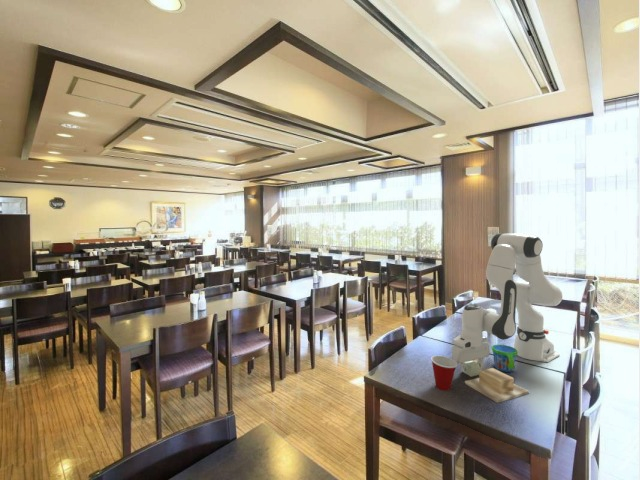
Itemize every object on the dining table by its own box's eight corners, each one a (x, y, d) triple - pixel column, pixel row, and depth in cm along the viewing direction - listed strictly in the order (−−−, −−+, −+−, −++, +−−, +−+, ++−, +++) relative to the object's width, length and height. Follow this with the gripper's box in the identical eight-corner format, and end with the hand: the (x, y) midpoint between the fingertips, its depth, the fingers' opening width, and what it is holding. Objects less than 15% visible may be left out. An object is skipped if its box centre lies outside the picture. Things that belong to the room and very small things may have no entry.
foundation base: (494, 375, 145) (494, 363, 144) (528, 393, 130) (529, 379, 130) (464, 383, 138) (465, 370, 138) (497, 402, 123) (497, 388, 123)
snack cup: (487, 360, 160) (487, 341, 160) (510, 363, 158) (511, 343, 157) (496, 375, 145) (497, 354, 144) (522, 378, 142) (522, 356, 142)
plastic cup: (460, 395, 129) (461, 366, 128) (432, 393, 131) (433, 364, 130) (453, 382, 139) (454, 355, 139) (428, 380, 141) (428, 353, 140)
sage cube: (470, 370, 151) (470, 359, 150) (479, 374, 146) (479, 364, 146) (462, 372, 149) (462, 361, 148) (471, 376, 144) (471, 366, 144)
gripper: (482, 334, 153) (481, 361, 154) (449, 340, 145) (449, 369, 146) (493, 338, 147) (492, 367, 148) (460, 345, 140) (459, 375, 140)
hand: (470, 368), depth 147 cm, fingers open, 8 cm apart
